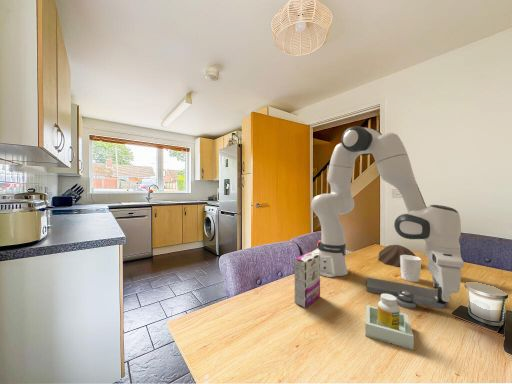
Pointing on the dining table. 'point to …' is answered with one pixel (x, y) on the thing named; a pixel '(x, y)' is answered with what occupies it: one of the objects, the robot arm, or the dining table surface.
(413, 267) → the white cup
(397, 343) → the tray
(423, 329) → the dining table surface
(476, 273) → the dining table surface
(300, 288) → the candy bar box
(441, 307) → the crank
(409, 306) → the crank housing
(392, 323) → the supplement bottle
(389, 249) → the decorative dome
